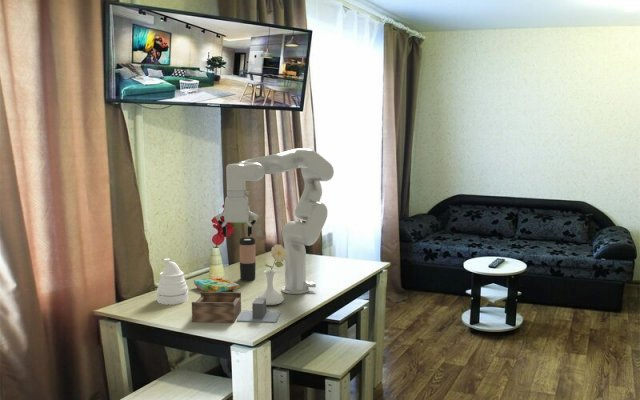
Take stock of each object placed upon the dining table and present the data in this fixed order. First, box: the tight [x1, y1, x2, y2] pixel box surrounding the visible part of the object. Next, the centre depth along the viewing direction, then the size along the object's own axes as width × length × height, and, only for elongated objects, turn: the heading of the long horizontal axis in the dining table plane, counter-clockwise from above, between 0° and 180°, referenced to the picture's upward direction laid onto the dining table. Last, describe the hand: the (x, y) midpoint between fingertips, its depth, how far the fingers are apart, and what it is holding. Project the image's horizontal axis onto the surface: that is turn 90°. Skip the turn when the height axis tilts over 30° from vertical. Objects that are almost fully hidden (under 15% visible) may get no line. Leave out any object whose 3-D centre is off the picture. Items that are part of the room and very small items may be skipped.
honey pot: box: [156, 258, 189, 305], centre depth 241 cm, size 13×13×18 cm
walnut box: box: [191, 291, 242, 324], centre depth 220 cm, size 16×14×8 cm
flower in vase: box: [256, 243, 287, 306], centre depth 236 cm, size 13×11×25 cm
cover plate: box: [236, 297, 282, 324], centre depth 220 cm, size 15×12×7 cm
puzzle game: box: [193, 275, 240, 292], centre depth 256 cm, size 12×5×20 cm
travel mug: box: [239, 236, 257, 282], centre depth 274 cm, size 8×8×20 cm
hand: (237, 235), depth 231 cm, fingers open, 9 cm apart
